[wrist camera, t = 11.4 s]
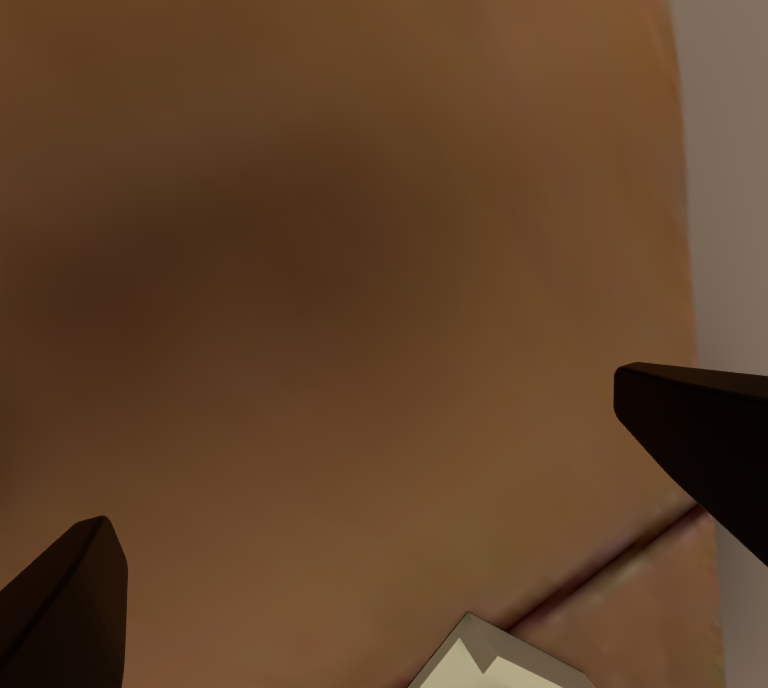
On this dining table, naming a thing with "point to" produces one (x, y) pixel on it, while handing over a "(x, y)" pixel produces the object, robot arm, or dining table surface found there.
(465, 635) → the end cap
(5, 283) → the dining table surface
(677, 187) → the dining table surface
